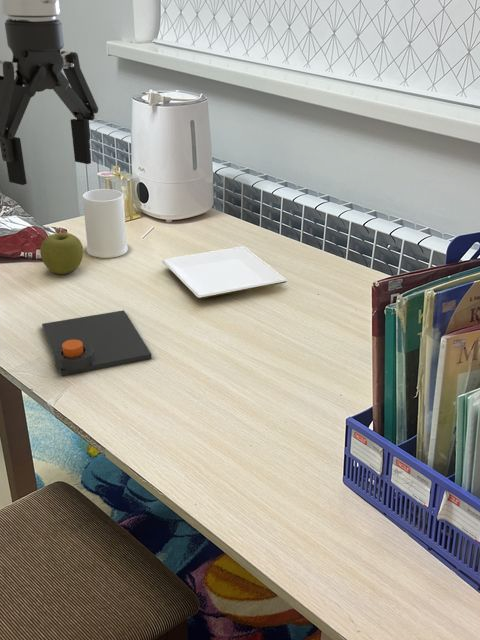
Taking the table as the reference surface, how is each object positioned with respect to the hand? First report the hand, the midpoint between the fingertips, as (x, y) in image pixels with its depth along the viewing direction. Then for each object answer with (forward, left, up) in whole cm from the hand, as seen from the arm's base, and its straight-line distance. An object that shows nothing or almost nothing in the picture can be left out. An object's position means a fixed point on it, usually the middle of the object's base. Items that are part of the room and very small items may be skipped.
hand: (52, 172), depth 105 cm
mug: (-30, +14, -26) cm, 42 cm away
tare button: (+14, -2, -24) cm, 28 cm away
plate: (-7, +31, -26) cm, 41 cm away
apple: (-21, +3, -26) cm, 34 cm away
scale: (+9, +2, -26) cm, 27 cm away
